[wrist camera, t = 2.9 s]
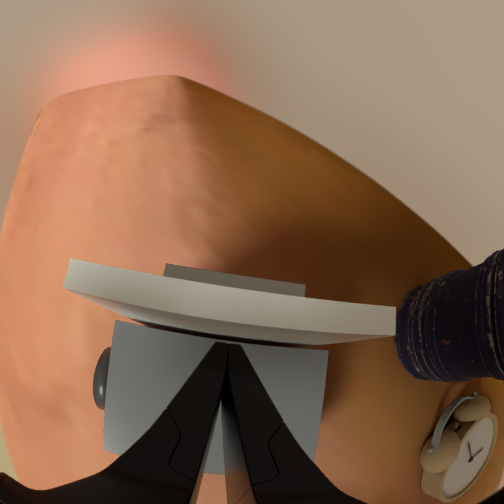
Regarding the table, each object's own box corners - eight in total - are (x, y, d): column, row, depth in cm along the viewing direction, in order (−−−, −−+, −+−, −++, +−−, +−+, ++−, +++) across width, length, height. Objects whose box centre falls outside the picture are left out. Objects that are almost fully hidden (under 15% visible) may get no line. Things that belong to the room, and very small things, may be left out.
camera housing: (285, 446, 17) (311, 475, 12) (116, 421, 16) (85, 442, 11) (297, 351, 20) (328, 350, 15) (127, 325, 19) (97, 315, 13)
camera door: (294, 346, 20) (395, 335, 8) (146, 325, 19) (63, 287, 7) (296, 323, 20) (395, 284, 9) (150, 301, 19) (78, 235, 8)
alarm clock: (445, 516, 12) (435, 459, 13) (420, 503, 17) (399, 442, 18) (499, 448, 15) (499, 370, 16) (474, 441, 20) (464, 367, 21)
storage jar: (379, 305, 22) (523, 248, 8) (441, 270, 25) (549, 214, 11) (409, 400, 20) (546, 407, 6) (465, 351, 22) (575, 329, 8)
